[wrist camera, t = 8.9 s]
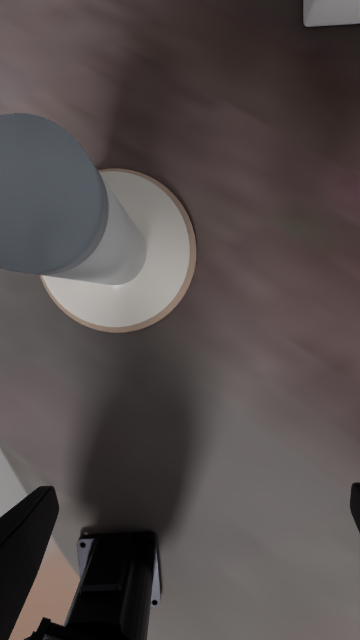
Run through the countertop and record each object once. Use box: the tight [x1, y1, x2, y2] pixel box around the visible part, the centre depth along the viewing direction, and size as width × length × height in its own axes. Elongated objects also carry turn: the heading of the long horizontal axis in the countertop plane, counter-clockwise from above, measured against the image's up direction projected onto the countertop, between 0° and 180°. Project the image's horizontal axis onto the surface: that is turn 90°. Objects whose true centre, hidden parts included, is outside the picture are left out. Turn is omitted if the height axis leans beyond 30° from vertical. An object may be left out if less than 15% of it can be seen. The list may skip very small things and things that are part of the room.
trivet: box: [40, 168, 196, 333], centre depth 20 cm, size 12×12×1 cm
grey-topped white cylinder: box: [0, 113, 147, 285], centre depth 14 cm, size 5×5×11 cm
